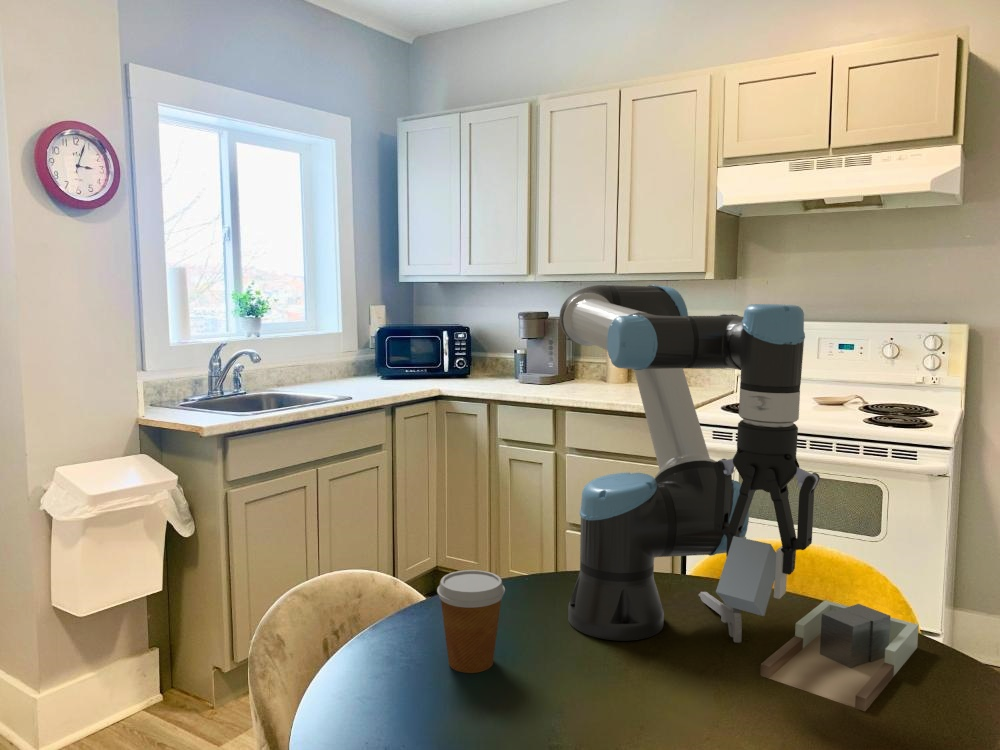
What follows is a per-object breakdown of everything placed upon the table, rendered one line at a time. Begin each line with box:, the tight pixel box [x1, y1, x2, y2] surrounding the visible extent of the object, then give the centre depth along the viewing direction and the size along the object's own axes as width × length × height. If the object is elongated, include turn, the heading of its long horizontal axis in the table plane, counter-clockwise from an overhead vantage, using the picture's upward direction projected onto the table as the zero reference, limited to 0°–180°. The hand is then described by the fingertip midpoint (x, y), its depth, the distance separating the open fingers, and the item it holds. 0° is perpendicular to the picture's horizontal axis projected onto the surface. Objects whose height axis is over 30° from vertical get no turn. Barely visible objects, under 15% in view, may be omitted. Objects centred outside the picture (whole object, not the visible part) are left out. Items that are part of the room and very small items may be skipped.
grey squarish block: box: [820, 609, 871, 668], centre depth 108 cm, size 5×4×6 cm
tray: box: [794, 599, 919, 678], centre depth 112 cm, size 13×12×4 cm
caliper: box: [698, 591, 743, 643], centre depth 123 cm, size 20×1×6 cm, turn 0°
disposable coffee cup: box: [436, 569, 506, 674], centre depth 107 cm, size 10×10×12 cm
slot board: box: [759, 633, 918, 712], centre depth 108 cm, size 13×24×2 cm, turn 138°
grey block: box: [715, 536, 776, 617], centre depth 100 cm, size 5×5×8 cm
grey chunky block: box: [843, 603, 892, 662], centre depth 110 cm, size 5×4×6 cm
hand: (758, 589), depth 104 cm, fingers closed on grey block, 5 cm apart
